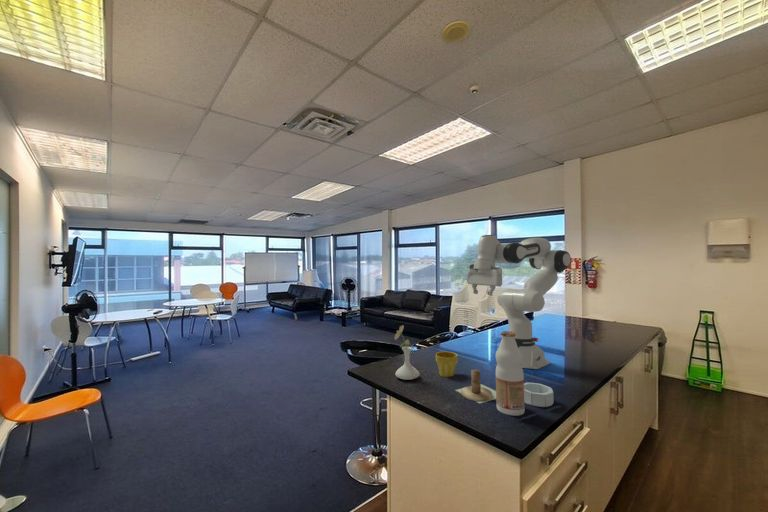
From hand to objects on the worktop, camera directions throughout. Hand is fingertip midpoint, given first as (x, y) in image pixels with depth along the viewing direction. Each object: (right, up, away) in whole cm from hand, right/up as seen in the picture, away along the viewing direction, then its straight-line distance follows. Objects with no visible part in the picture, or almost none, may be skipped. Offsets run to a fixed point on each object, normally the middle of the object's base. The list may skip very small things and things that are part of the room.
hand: (482, 294), depth 149 cm
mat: (-9, -37, -26) cm, 46 cm away
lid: (-11, -37, -27) cm, 47 cm away
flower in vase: (-38, -39, -6) cm, 54 cm away
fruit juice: (-3, -37, -40) cm, 54 cm away
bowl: (+10, -37, -33) cm, 50 cm away
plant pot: (-18, -38, -3) cm, 43 cm away
